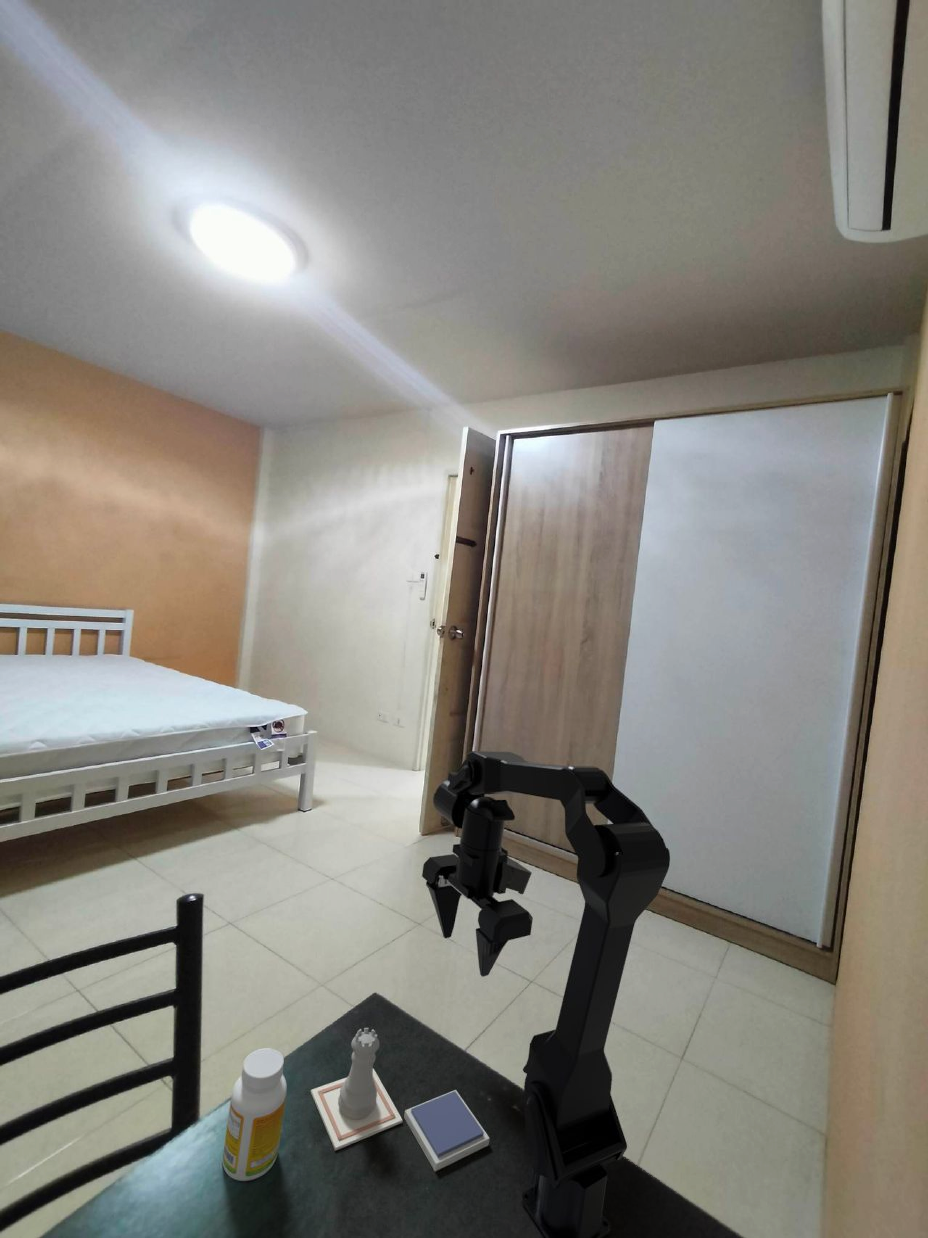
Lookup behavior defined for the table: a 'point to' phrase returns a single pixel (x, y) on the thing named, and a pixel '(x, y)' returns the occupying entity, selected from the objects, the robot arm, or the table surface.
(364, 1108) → the rook chess piece
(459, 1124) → the ink pad
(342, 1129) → the marked square board
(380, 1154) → the table surface
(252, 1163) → the supplement bottle
